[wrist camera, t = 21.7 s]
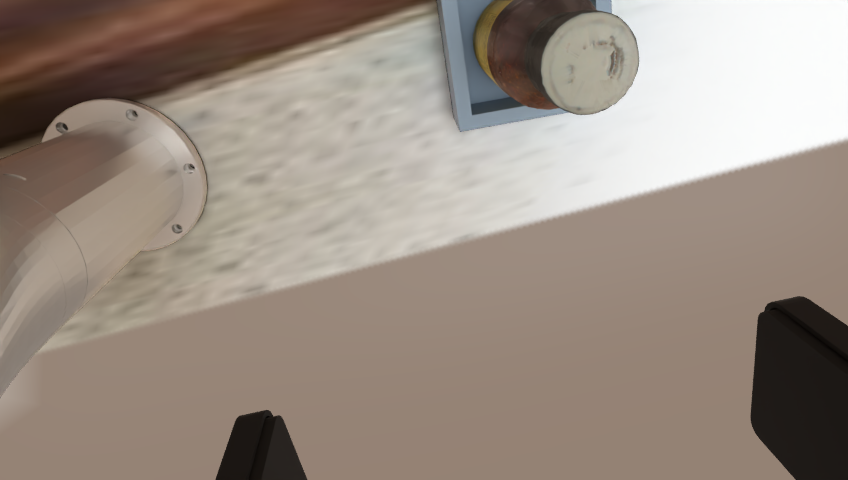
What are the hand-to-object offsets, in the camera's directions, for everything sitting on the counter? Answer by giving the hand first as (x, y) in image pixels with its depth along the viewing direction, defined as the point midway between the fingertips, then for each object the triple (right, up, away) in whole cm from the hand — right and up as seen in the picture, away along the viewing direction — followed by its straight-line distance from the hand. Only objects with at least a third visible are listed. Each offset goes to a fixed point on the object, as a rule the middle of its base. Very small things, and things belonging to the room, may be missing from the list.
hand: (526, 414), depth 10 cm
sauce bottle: (+4, +18, +29) cm, 35 cm away
